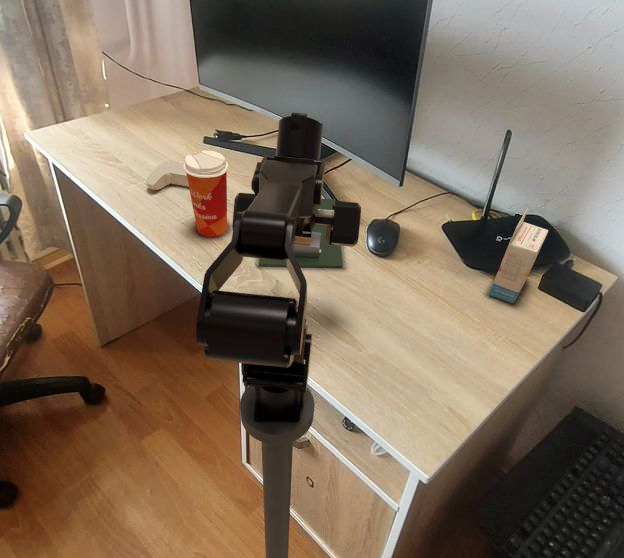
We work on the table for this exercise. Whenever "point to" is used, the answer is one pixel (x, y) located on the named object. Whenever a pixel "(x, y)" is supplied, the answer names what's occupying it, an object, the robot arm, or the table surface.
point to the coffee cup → (208, 191)
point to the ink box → (518, 261)
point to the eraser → (308, 246)
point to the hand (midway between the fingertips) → (299, 231)
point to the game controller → (167, 175)
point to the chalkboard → (327, 254)
